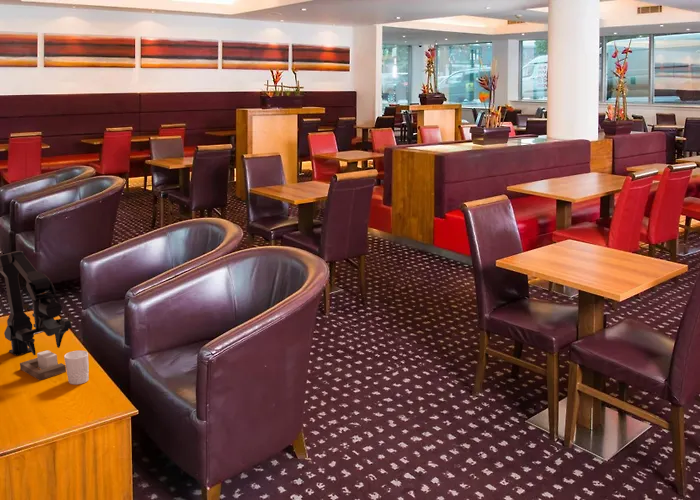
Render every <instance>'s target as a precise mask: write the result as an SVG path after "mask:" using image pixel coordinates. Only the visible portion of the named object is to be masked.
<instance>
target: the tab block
mask: <svg viewBox="0 0 700 500" xmlns="http://www.w3.org/2000/svg"><path fill="white" fill-rule="evenodd" d="M36 355H37V357H36V358H38V366H39V367H38V369H40V370H41V369H45V368H48V367H51V366H54V365H57V364H59V363H58V355H57V354H56V353H54V352H52V351H51V350H49V349H48V350H44V351H39V352H37V354H36Z"/></svg>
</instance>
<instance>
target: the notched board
mask: <svg viewBox="0 0 700 500" xmlns="http://www.w3.org/2000/svg"><path fill="white" fill-rule="evenodd" d="M19 368H20V370H21V371H22V372H24V373H26V374H28V375H29V376H32V377H33V378H35V379H37V380H38V381H42V380H45V379H48V378H51V377H54V376H58V375H60V374H64V373H65V372H66V373H67V370H66V364H65V363H58V364H57V365H54V366H51V367H48V368H45V369H39V366H38V357H35V358H33V359H29V360H26V361H22V362H20V363H19Z"/></svg>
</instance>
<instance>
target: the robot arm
mask: <svg viewBox="0 0 700 500" xmlns="http://www.w3.org/2000/svg"><path fill="white" fill-rule="evenodd" d="M0 274H1V275H2V276H3V277H4V283H5V287H6V288H5V289H6V293H7V294H6V295H7V301H8V306H9V312H10V314H9V316H8V318H7V320H6V325H7V326H6V328H5V330H4V333H3V334H4V337H5V339H6V340H8V341H10V342H11V349H9V350H8V353H10V354H12V355H14V356H17V357H18V356H19V355H23V354H26V353H30V352H31V353H32V355H33V356H36V355H37V354H36V346H35V342H36V340H35V338H34V337H35V335H38V334H41V333H44V334H45V335H46V336H48V337H52V336H54V337H55V344H56V347H57V348H58V349H59V348H61V344H62V340H63V338H64V335H65V334H66V333H67V332H68V331H69V330H70V329H73V328H72V326H73V323H72V322H71V320H69V319H68V318H65V317H62V318H59V319H55V318H58V317H59V316H60V315H61V313H62V311H63V306H62V305H61V303H59V301H56V298H55V297H56V296H57V291H56V288H55V286H54V285H53V282H52V281H51V279H50V278H49V277H48V276H47V275H46V274H45V273H43V272H40V271H38V270H37V269H36V268H35V267H34V266H33V263H31V262H30V260H29V259H28V258H27V256H26V254H25V252H24V251H21V250H18V251H12V252H9V253H4V254H0ZM19 274H20V275H21V276H22V277H23V278H24V279H25V281H26V286H25V287H26V290H27V292H28V293H29V296H30V298H31V303H32V310H33V312H32V314H31V315H32V318H34V324H33V323H32V321H31V318H30V316H28V315H27V314H26V313H25V309H24V304H23V303H24V302H23V298H22V292H21V291H22V290H21V286H20V279H19V276H20V275H19Z"/></svg>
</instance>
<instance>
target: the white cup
mask: <svg viewBox="0 0 700 500" xmlns="http://www.w3.org/2000/svg"><path fill="white" fill-rule="evenodd" d="M63 357H64V365H65V367H66V374H67V375H66V376H67V380H68V383H69V384H70V385H81V384H85V383H87V382H88V381H89V379H90V378H89V377H90V376H89V375H90V374H89V372H90V371H89V353H88V351H86V350H73V351H69V352H66V353H65V354H64V356H63Z"/></svg>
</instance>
